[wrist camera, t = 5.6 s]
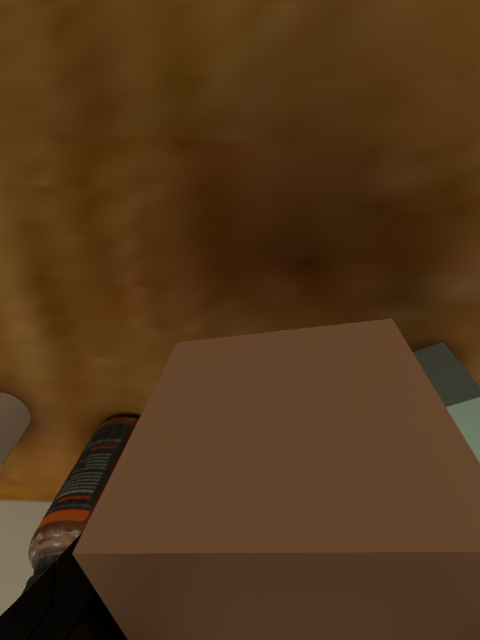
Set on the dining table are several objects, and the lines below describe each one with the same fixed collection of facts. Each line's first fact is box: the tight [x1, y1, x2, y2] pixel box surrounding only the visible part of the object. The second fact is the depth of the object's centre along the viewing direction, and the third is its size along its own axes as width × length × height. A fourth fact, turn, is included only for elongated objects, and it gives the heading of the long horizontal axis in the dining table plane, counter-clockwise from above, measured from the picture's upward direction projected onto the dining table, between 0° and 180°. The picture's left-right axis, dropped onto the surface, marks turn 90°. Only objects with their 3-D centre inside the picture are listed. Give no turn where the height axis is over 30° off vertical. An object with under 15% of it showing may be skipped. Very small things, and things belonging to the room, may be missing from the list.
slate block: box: [413, 342, 480, 463], centre depth 21 cm, size 5×5×5 cm
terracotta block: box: [72, 319, 480, 640], centre depth 7 cm, size 5×5×5 cm
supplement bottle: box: [22, 416, 139, 594], centre depth 22 cm, size 6×6×11 cm
